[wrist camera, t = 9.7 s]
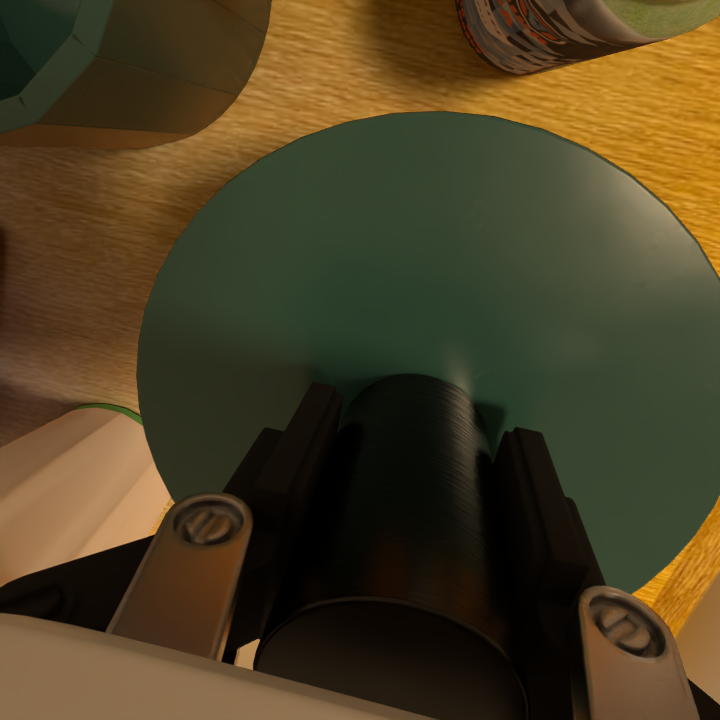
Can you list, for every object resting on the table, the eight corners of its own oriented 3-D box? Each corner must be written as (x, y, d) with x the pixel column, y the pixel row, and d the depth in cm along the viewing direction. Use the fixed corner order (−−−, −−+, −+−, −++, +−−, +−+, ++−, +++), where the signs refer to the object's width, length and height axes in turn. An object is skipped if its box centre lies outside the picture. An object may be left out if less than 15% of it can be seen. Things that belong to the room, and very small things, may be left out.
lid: (160, 61, 11) (-336, -101, 4) (850, 184, 10) (1827, 260, 3) (158, 552, 17) (-45, 837, 10) (592, 663, 16) (712, 1070, 9)
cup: (143, 565, 35) (-51, 833, 22) (-3, 452, 33) (-322, 667, 19) (247, 469, 31) (85, 733, 17) (85, 331, 29) (-253, 501, 15)
